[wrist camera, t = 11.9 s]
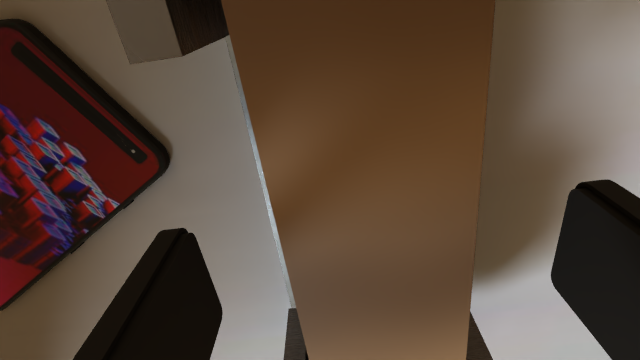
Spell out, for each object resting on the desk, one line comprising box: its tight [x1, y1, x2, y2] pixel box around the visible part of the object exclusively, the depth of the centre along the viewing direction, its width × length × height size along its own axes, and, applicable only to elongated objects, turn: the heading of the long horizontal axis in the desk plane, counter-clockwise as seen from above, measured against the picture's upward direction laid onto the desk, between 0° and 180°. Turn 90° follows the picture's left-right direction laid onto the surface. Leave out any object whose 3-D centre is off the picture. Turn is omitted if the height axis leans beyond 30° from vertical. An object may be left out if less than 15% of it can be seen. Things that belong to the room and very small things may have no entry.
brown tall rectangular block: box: [221, 0, 495, 360], centre depth 10 cm, size 18×4×4 cm, turn 8°
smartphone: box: [0, 19, 170, 311], centre depth 16 cm, size 8×1×15 cm
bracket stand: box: [106, 0, 493, 360], centre depth 11 cm, size 23×8×8 cm, turn 8°
